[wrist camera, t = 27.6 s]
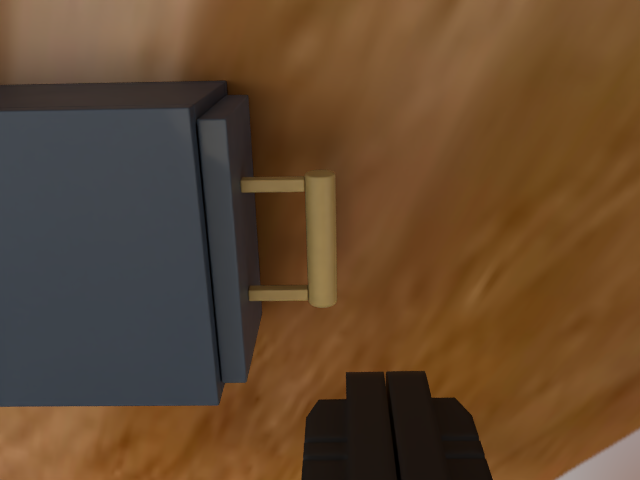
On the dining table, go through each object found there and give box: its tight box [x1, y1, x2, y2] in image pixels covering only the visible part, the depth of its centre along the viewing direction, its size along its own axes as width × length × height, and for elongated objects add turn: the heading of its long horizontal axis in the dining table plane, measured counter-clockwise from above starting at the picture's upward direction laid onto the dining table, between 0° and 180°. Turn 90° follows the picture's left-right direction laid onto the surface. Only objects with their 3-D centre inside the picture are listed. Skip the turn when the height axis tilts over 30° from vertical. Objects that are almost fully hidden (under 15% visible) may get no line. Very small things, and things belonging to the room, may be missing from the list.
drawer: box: [195, 95, 337, 383], centre depth 29 cm, size 20×12×7 cm, turn 91°
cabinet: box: [0, 81, 227, 407], centre depth 29 cm, size 17×14×9 cm
